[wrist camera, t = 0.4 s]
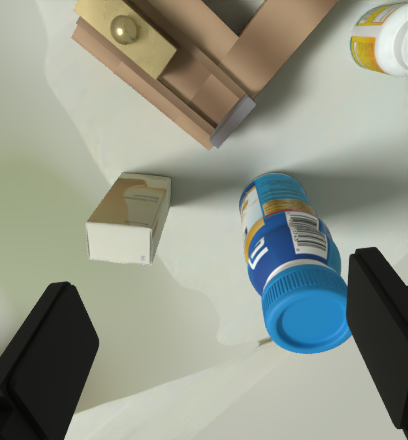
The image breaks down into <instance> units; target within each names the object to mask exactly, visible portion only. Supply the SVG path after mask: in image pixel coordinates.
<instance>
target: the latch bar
mask: <svg viewBox="0 0 408 440" xmlns="http://www.w3.org/2000/svg"><path fill="white" fill-rule="evenodd" d="M73 10H74V11H75V12H76V13H77V14H78V15H80V16H81V17H82V18H83V19H84V20H86V21H87V22H88V23H89V24H90V25H91V26H93V27H94V28H95V29H96V30H97V31H98V32H100V33H101V34H102V35H103V36H104V37H106V38H107V39H108V40H109V41H110V42H111V43H113V44H114V45H115V46H116V47H117V48H118V49H120V50H121V51H122V52H123V53H124V54H126V55H127V56H128V57H129V58H130V59H131V60H133V61H134V62H135V63H136V64H137V65H138V66H140V67H141V68H142V69H143V70H144V71H146V72H147V73H148V74H149V75H150V76H151V77H153V78H154V79H155V80H157V79H158V78H159V77H160V76H161V75H162V73H163V72H164V70H165V69H166V67H167V66H168V65H169V63H170V62H171V60H172V59H173V57H174V56H175V55H176V53H177V52H178V50H179V48H178V47H177V46H176V45H175V44H174V43H173V42H172V41H171V40H170V39H168V38H167V37H166V36H165V35H164V34H163V33H162V32H161V31H160V30H159V29H157V28H156V27H155V26H154V25H153V24H152V23H151V22H150V21H149V20H148V19H146V18H145V17H144V16H143V15H142V14H141V13H140V12H139V11H138V10H137V9H135V8H134V7H133V6H132V5H131V4H130V3H129V2H128V1H127V0H78V1H77V3H76V5H75V7H74V9H73Z"/></svg>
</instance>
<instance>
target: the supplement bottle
mask: <svg viewBox="0 0 408 440" xmlns="http://www.w3.org/2000/svg"><path fill="white" fill-rule="evenodd" d="M349 50H350V54H351V57H352V59H353V60H354V62H355V63H356V64H357V65H359V66H360V67H363V68H365V69H369V70H373V71H377V72H381V73H385V74H388V75H392V76H397V77H404V76H408V2H405V3H398V4H390V5H384V6H379V7H375V8H373V9H371V10H369V11H368V12H366V13H365V14H364V15H362V16H361V17H360V18H359V19H358V21H357V22H356V24H355V25H354V27H353V29H352V31H351V34H350V38H349Z"/></svg>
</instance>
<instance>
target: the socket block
mask: <svg viewBox="0 0 408 440" xmlns="http://www.w3.org/2000/svg"><path fill="white" fill-rule="evenodd" d="M127 1H128V2H129V3H130V4H131V5H132V6H133V7H134V8H135V9H137V10H138V11H139V12H140V13H141V14H142V15H143V16H144V17H145V18H146V19H148V20H149V21H150V22H151V23H152V24H153V25H154V26H155V27H156V28H157V29H159V30H160V31H161V32H162V33H163V34H164V35H165V36H166V37H167V38H168V39H170V40H171V41H172V42H173V43H174V44H175V45H176V46H177V47H178V48H179V50H178V52H177V53H176V55H175V56H174V57H173V59H172V60H171V62H170V63H169V65H168V66H167V67H166V69H165V70H164V72H163V73H162V75H161V76H160V77H159V78H158V79H157V80H155V79H154V78H153V77H151V76H150V75H149V74H148V73H147V72H146V71H144V70H143V69H142V68H141V67H140V66H138V65H137V64H136V63H135V62H134V61H133V60H131V59H130V58H129V57H128V56H127V55H126V54H124V53H123V52H122V51H121V50H120V49H118V48H117V47H116V46H115V45H114V44H113V43H111V42H110V41H109V40H108V39H107V38H106V37H104V36H103V35H102V34H101V33H100V32H98V31H97V30H96V29H95V28H94V27H93V26H91V25H90V24H89V23H88V22H87V21H86V20H84V19H83V18H82V17H81V16H80V17H79V19H78V21H77V22H76V23H77V24H78V25H77V27H76V29H75V31H74V33H73V35H72V37H71V38H72V39H73V40H75V41H76V42H77V43H78V44H80V45H81V46H82V47H83V48H84V49H86V50H87V51H88V52H89V53H91V54H92V55H93V56H94V57H95V58H97V59H98V60H99V61H100V62H101V63H103V64H104V65H105V66H106V67H108V68H109V69H110V70H111V71H112V72H114V73H115V74H116V75H117V76H119V77H120V78H121V79H122V80H123V81H125V82H126V83H127V84H128V85H130V86H131V87H132V88H133V89H134V90H136V91H137V92H138V93H139V94H140V95H142V96H143V97H144V98H145V99H147V100H148V101H149V102H150V103H151V104H153V105H154V106H155V107H156V108H158V109H159V110H160V111H161V112H162V113H164V114H165V115H166V116H167V117H169V118H170V119H171V120H172V121H173V122H175V123H176V124H177V125H178V126H179V127H181V128H182V129H183V130H184V131H186V132H187V133H188V134H189V135H190V136H192V137H193V138H194V139H195V140H197V141H198V142H199V143H200V144H201V145H203V146H204V147H205V148H206V149H208V150H210V149H211V147H212V146H213V145H214V146H215V147H216V148H219V147H220V146H221V145H222V143H223V142H224V141H225V140H226V139H227V138H228V137H229V135H230V134H231V133H232V132H233V131H234V130H235V129H236V127H237V126H238V125H239V124H240V123H241V122H242V121H243V119H244V118H245V117H246V116H247V115H248V114H249V113H250V111H251V110H252V109H253V108H254V107H255V106H256V105H257V104H256V103H255V101H254V98H255V96H256V95H257V94H258V93H259V92H260V91H261V90H262V88H263V87H264V86H265V85H266V84H267V83H268V81H269V80H270V79H271V78H272V77H273V76H274V74H275V73H276V72H277V71H278V70H279V69H280V68H281V66H282V65H283V64H284V63H285V62H286V61H287V59H288V58H289V57H290V56H291V55H292V54H293V52H294V51H295V50H296V49H297V48H298V47H299V46H300V44H301V43H302V42H303V41H304V40H305V39H306V37H307V36H308V35H309V34H310V33H311V32H312V31H313V29H314V28H315V27H316V26H317V25H318V24H319V22H320V21H321V20H322V19H323V18H324V17H325V15H326V14H327V13H328V12H329V11H330V10H331V9H332V7H333V6H334V5H335V4H336V3H337V2H338V0H265V1H264V2H263V4H262V5H261V6H260V7H259V9H258V10H257V11H256V13H255V14H254V15H253V17H252V18H251V19H250V20H249V22H248V23H247V24H246V26H245V27H244V28H243V30H242V31H241V32H240V33H239V35H238V36H237V35H236V34H235V33H234V32H233V31H232V30H231V29H230V28H229V27H228V26H227V25H226V24H225V23H224V22H223V21H222V20H221V19H220V18H219V17H218V16H217V15H216V14H215V13H214V12H213V11H212V10H211V9H210V8H209V7H207V6H206V5H205V4H204V3H203V2H202V1H201V0H127Z"/></svg>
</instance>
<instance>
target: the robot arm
mask: <svg viewBox="0 0 408 440" xmlns="http://www.w3.org/2000/svg"><path fill="white" fill-rule="evenodd" d="M346 320H347V324H348V327H349V329H350V331H351V333H352V335H353V337H354V340H355V342H356V344H357V346H358V348H359V351H360V353H361V355H362V357H363V359H364V361H365V364H366V366H367V368H368V370H369V372H370V375H371V376H372V379H373V381H374V383H375V385H376V388H377V390H378V392H379V394H380V396H381V398H382V400H383V402H384V405H385V407H386V409H387V411H388V413H389V416H390V418H391V420H392V422H393V424H394V426H395V427H396V428H397V429H403V431H404V434H405V436H406V438H407V440H408V286H406V285H405V283H404V282H403V281H402V280H401V278H400V277H399V276H398V274H397V273H396V272H395V271H394V269H393V268H392V267H391V265H390V264H389V263H388V261H387V260H386V259H385V258H384V256H383V255H382V254H381V252H380V251H379V250H378V249H377V248H376V247H370V248H361V249H356V251H355V254H351V255H350V257H349V272H348V288H347V304H346ZM98 347H99V338H98V336H97V333H96V331H95V329H94V327H93V325H92V322H91V320H90V318H89V316H88V313H87V311H86V309H85V307H84V304H83V302H82V300H81V298H80V295H79V293H78V291H77V289H76V287H75V286H74V285H71V284H70V283H69V282H57V283H51V284H50V285H49V286H48V287H47V288H46V290H45V292H44V293H43V294H42V296H41V297H40V299H39V301H38V302H37V303H36V305H35V306H34V308H33V309H32V311H31V313H30V314H29V315H28V317H27V318H26V320H25V321H24V323H23V324H22V326H21V327H20V329H19V330H18V331H17V333H16V335H15V336H14V337H13V339H12V341H11V342H10V343H9V345H8V346H7V348H6V349H5V351H4V352H3V354H2V355H1V357H0V440H64V438H65V435H66V433H67V430H68V427H69V425H70V422H71V420H72V417H73V414H74V412H75V409H76V406H77V404H78V401H79V398H80V396H81V393H82V390H83V388H84V385H85V382H86V380H87V377H88V374H89V372H90V369H91V366H92V364H93V361H94V358H95V356H96V353H97V351H98Z"/></svg>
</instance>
